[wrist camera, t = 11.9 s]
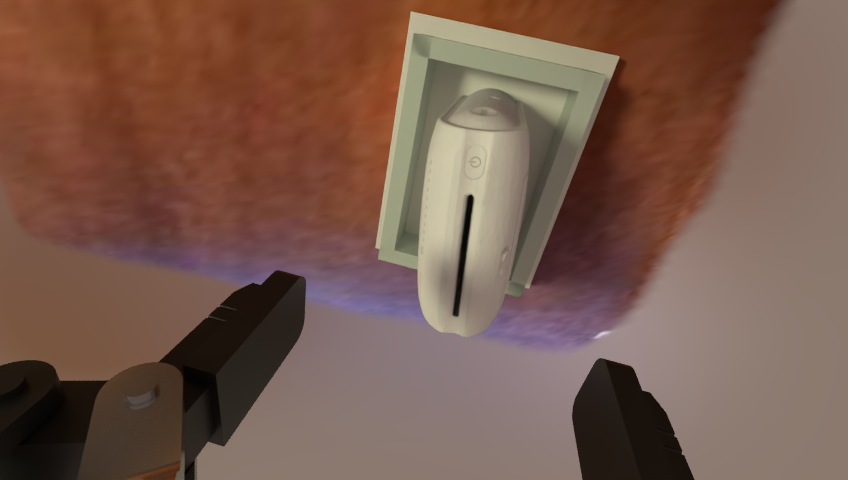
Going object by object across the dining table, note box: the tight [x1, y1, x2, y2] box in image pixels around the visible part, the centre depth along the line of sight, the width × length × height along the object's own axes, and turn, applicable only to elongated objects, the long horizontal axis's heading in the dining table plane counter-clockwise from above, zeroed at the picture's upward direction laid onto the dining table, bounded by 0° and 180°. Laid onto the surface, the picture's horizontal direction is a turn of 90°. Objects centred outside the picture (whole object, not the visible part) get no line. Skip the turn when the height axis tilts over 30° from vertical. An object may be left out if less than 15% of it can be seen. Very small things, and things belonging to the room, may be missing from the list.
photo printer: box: [418, 88, 530, 337], centre depth 20 cm, size 10×4×12 cm, turn 176°
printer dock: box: [375, 12, 620, 297], centre depth 25 cm, size 16×12×4 cm
